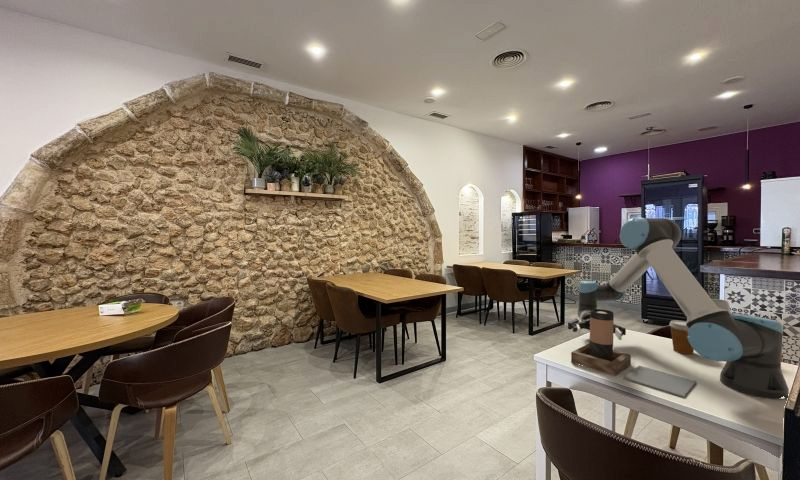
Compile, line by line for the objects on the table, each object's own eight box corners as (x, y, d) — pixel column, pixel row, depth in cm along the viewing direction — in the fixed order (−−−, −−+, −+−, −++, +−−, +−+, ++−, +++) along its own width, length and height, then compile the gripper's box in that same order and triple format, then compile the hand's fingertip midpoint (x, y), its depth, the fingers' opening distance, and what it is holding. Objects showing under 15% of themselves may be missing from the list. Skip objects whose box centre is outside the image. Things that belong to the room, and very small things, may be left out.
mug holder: (630, 365, 125) (631, 354, 124) (615, 376, 115) (615, 364, 115) (588, 353, 136) (588, 343, 136) (571, 362, 127) (571, 352, 127)
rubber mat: (696, 382, 110) (696, 381, 110) (683, 397, 100) (683, 395, 100) (639, 367, 123) (639, 365, 123) (623, 379, 113) (623, 377, 113)
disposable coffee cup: (695, 350, 140) (696, 322, 140) (700, 357, 132) (701, 327, 132) (666, 346, 145) (667, 318, 145) (670, 352, 137) (671, 324, 137)
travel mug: (616, 368, 121) (617, 314, 121) (593, 367, 123) (594, 313, 122) (607, 360, 129) (608, 309, 128) (586, 359, 130) (587, 308, 130)
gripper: (623, 331, 142) (638, 348, 122) (559, 325, 151) (562, 339, 132) (624, 314, 142) (638, 328, 122) (559, 309, 151) (563, 321, 131)
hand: (599, 334), depth 127 cm, fingers open, 13 cm apart
